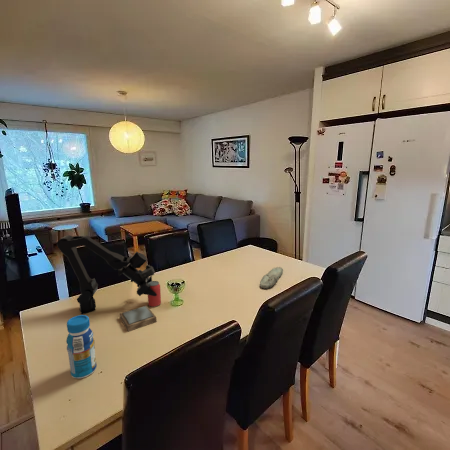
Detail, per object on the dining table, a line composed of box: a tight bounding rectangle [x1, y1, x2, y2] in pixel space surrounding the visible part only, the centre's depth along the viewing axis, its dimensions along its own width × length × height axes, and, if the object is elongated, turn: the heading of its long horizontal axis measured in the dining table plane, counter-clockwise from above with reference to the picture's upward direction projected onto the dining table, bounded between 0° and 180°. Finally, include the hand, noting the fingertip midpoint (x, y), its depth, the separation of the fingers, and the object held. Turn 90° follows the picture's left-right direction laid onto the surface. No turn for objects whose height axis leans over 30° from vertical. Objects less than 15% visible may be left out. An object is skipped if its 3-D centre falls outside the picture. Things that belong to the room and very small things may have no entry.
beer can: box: [147, 280, 162, 308], centre depth 139 cm, size 7×7×12 cm
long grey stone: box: [259, 266, 284, 289], centre depth 173 cm, size 35×5×10 cm
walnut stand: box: [119, 305, 157, 332], centre depth 126 cm, size 13×13×3 cm
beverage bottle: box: [65, 314, 97, 379], centre depth 92 cm, size 8×8×20 cm
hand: (156, 292), depth 140 cm, fingers closed on beer can, 7 cm apart
